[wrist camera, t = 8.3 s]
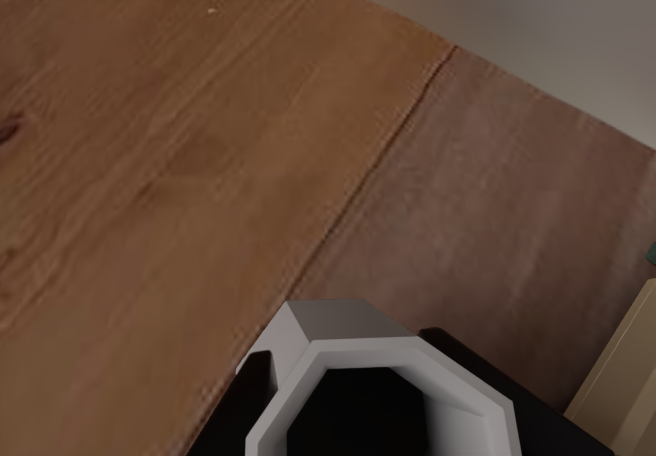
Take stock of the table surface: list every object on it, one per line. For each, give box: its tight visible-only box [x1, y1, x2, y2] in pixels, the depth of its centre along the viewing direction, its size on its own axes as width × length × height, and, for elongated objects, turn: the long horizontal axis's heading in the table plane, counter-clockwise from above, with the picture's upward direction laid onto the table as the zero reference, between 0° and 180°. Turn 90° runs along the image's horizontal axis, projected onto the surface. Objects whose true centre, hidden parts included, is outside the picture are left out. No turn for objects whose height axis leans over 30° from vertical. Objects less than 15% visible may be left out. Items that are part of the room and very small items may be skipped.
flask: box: [236, 298, 522, 456], centre depth 9 cm, size 7×7×10 cm
